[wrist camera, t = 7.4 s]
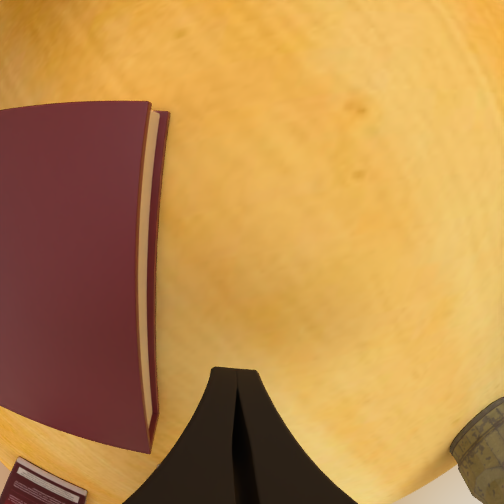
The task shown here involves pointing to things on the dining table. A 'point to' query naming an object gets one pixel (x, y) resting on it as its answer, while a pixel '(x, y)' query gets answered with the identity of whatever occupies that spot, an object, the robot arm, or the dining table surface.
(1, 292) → the book
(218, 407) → the robot arm
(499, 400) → the thermos
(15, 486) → the supplement box
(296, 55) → the dining table surface
